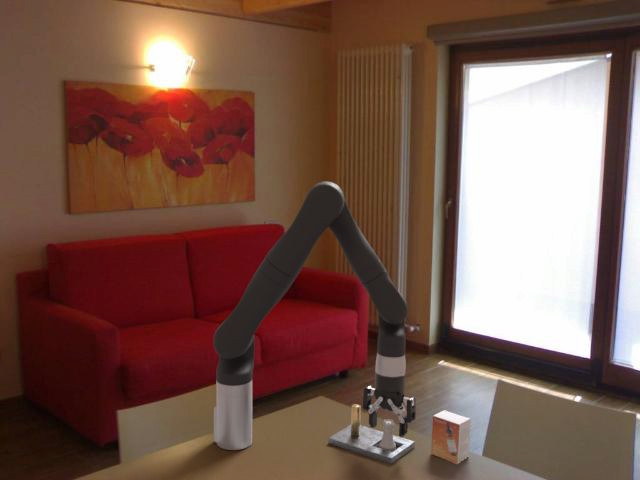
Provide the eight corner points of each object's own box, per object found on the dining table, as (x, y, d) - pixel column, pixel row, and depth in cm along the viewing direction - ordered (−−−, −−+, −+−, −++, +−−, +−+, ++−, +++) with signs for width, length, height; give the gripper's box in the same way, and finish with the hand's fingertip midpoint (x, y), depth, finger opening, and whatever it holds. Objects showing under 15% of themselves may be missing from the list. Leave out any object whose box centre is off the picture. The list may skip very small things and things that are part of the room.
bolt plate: (328, 443, 181) (329, 408, 179) (353, 428, 190) (354, 395, 189) (391, 464, 170) (392, 427, 168) (414, 447, 179) (415, 412, 178)
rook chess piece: (395, 455, 175) (396, 425, 173) (377, 453, 175) (378, 423, 174) (396, 447, 179) (398, 418, 178) (379, 445, 180) (380, 416, 179)
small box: (430, 454, 175) (431, 415, 174) (442, 447, 179) (444, 409, 178) (457, 465, 170) (459, 424, 168) (469, 457, 174) (471, 418, 172)
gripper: (358, 368, 175) (356, 428, 178) (408, 380, 167) (405, 444, 169) (374, 360, 181) (371, 419, 184) (422, 372, 173) (419, 433, 175)
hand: (387, 431), depth 176 cm, fingers open, 8 cm apart
